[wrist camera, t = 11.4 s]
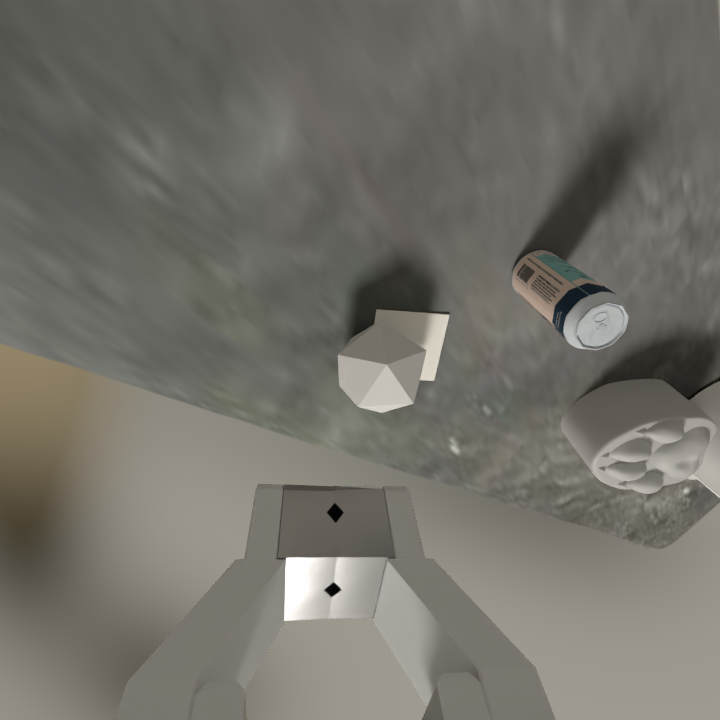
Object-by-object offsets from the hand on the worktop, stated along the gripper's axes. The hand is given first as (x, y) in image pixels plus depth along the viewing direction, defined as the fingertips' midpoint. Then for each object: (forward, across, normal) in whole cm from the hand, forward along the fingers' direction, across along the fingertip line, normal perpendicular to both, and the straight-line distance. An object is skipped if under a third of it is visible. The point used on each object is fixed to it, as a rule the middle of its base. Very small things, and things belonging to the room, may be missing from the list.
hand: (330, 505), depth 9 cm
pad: (+33, +10, -14) cm, 37 cm away
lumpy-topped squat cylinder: (+33, +37, -22) cm, 54 cm away
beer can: (+33, +21, -5) cm, 40 cm away
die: (+30, +3, -14) cm, 34 cm away
